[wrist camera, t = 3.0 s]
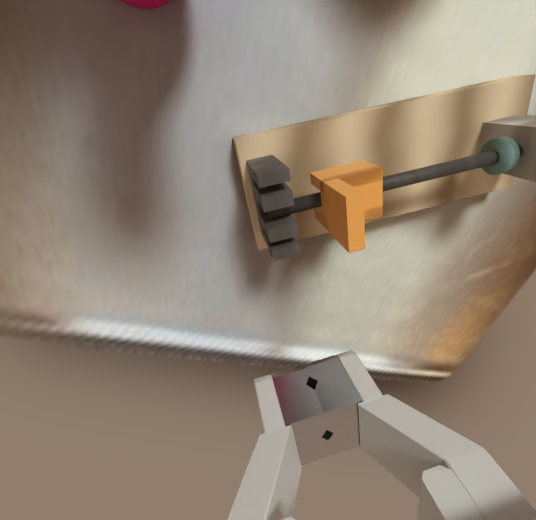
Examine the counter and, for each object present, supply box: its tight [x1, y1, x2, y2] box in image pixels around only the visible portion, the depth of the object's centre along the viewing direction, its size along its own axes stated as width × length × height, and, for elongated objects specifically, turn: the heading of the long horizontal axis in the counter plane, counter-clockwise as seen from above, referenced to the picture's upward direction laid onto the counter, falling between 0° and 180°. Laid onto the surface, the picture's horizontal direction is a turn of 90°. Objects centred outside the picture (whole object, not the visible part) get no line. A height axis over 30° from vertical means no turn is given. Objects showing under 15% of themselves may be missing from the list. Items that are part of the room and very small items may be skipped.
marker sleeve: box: [310, 160, 383, 253], centre depth 20 cm, size 4×3×6 cm
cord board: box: [233, 75, 536, 261], centre depth 24 cm, size 24×9×8 cm, turn 101°
